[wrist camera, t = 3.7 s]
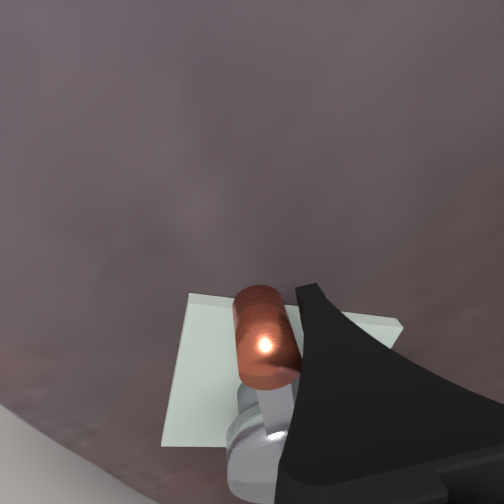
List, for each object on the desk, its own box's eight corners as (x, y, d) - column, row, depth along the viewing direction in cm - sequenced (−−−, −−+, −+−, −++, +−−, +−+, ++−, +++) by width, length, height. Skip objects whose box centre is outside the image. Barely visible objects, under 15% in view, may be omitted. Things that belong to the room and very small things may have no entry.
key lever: (336, 450, 18) (357, 511, 16) (236, 471, 18) (241, 537, 15) (332, 270, 12) (367, 325, 9) (174, 301, 11) (164, 367, 9)
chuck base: (353, 437, 24) (370, 481, 22) (162, 433, 21) (155, 484, 18) (431, 322, 19) (467, 362, 16) (189, 292, 15) (185, 337, 13)
